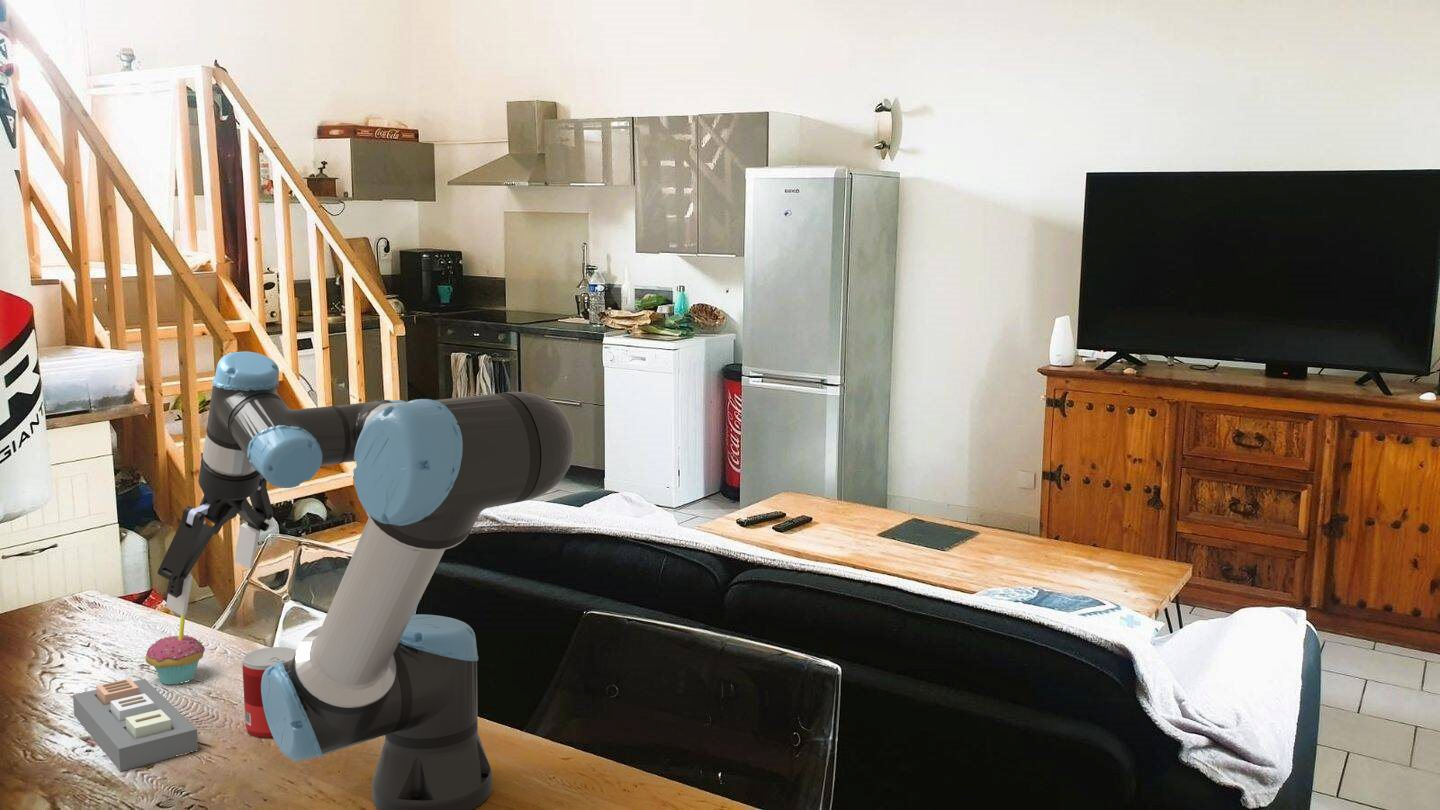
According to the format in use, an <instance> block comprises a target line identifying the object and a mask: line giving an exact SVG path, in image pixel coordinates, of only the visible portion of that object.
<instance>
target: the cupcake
mask: <svg viewBox="0 0 1440 810" xmlns="http://www.w3.org/2000/svg"><path fill="white" fill-rule="evenodd" d="M179 620H180V622H179V631H178V632H179V633H178V635H174V636H173V635H172V636H167V637H166V636H165V637H163V638H159V639H158V640H156V641H155V642H154V643H152V644H151V645H150V647H148V648H147V651H146V654H145V662H146V664H148V665H149V666H153V667H154V669H155V670H156V672H157V675H158V677H159V680H160V682H161V683H162V684H163V683H164V684H163V685H166V684H177V683H181V682H185V681H188V680H191V679H192V678H193V677H194V678H195V673H196V670H197V666H198V664H199V662H200V660H202V659H203V657H204V652H205V651H206V648H205V646H204V645H203V644H202V642H201V641H200V640H198V639H196V638H195V637H193V636H190V635H186V634H184V633H185V621H186V614H185V615H183V616H181V615H180V619H179ZM194 678H193V679H194ZM193 679H192V680H193ZM192 680H191V681H192Z"/></svg>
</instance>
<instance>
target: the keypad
mask: <svg viewBox="0 0 1440 810" xmlns="http://www.w3.org/2000/svg"><path fill="white" fill-rule="evenodd" d="M132 681H133V680H132ZM133 682H134V683H135V684H136V685H137V686H138V687H139V695H140V694H144V693H145V694H146V695H147V696H148V697H149V698H150V699H151V700H152V701H153V702H154V706H155V710H160V709H161V710H162V711H163V712H164V713H165V714H166V715H167V716H168V717H169V718H170V719H171V729H172V730H170V731H166V732H162V733H158V734H154V735H150V736H146V737H142V738H138V739H133V738H132V736H131V735H130V734H129V733H128V732H127V731H126V720H124V721H120V722H118V721H117V720H116V719H115V718H114V716H113V715H112V714H111V704H108V705H103V704H102V703H101V702H100V701H99V700H98V699H97V690H96V689H92V690H88V691H84V692H78V693H76V694H75V693H74V694H72V701H73V703H72V704H73V716H74V718H76V720H77V721H78V722H79V723H80V724H81V725H82V727H83V728H84V729H85V730H86V732H87V733H88V734H89V736H91V738H92V739H93V740H94V742H95V743H96V744H97V745H98V746H99V747H100V749H101V750H102V751H103V752H104V753H105V755H106V756H107V757H108V759H109V760H110V761H111V762H112V763H113V765H114V766H115V768H116V769H117V770H118V771H119V772H120V773H121V772H124V771H127V770H131V769H136V768H140V767H143V766H147V765H150V764H154V763H158V762H161V761H166V760H169V759H168V758H170V757H173V758H175V757H174V756H176V755H180V754H185V753H188V752H191V751H196V750H198V751H199V743H198V741H199V739H198V729H197V728H196V727H195V725H194V724H192V723H191V722H190V721H189V720H188V719H187V718H186V717H185V716H184V715H183V714H182V713H181V711H179V710H178V708H176V707H175V706H174V705H173V704H172V703H171V702H169V700H167V699H166V698H165V697H164V695H162V694H161V693H160V691H158V689H156V688H155V687H154V686H153V685H152V684H151V682H149V681H148V680H147V679H146V678H142V679H138V680H134V681H133ZM196 752H197V751H196ZM188 754H189V753H188ZM185 755H186V754H185ZM165 759H166V760H165ZM170 759H171V758H170Z"/></svg>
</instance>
